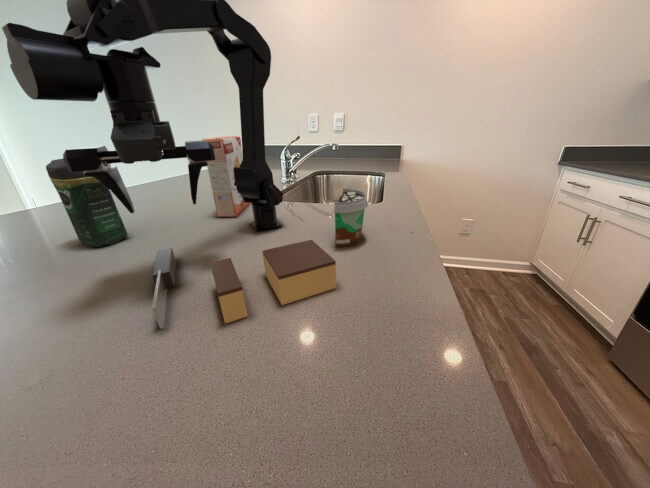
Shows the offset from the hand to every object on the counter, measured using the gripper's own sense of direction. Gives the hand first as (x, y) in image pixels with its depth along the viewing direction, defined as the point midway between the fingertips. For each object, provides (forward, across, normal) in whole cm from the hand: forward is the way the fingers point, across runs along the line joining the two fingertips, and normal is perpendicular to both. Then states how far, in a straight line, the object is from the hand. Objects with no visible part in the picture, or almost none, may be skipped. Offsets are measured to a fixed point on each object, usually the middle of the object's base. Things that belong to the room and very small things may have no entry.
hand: (165, 208), depth 44 cm
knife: (+11, -2, -7) cm, 14 cm away
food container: (+12, +34, -5) cm, 37 cm away
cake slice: (+12, +7, -16) cm, 20 cm away
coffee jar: (+12, -17, +23) cm, 31 cm away
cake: (+12, +18, -15) cm, 26 cm away
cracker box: (+12, +14, +31) cm, 36 cm away
